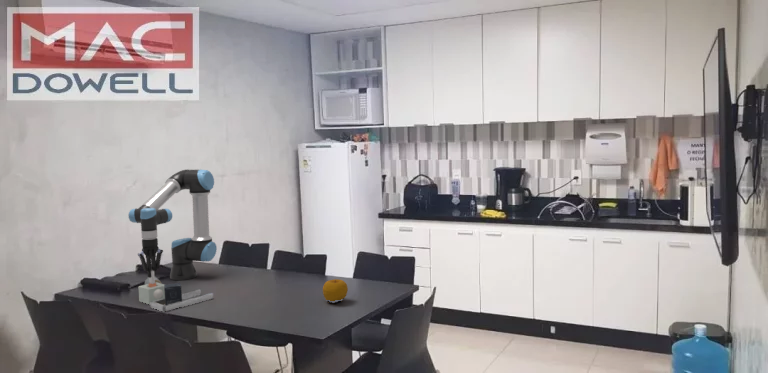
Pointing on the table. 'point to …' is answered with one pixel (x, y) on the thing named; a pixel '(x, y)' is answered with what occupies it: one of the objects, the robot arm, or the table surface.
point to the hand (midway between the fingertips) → (152, 283)
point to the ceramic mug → (149, 281)
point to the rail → (161, 307)
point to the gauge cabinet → (151, 293)
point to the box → (172, 293)
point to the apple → (335, 290)
